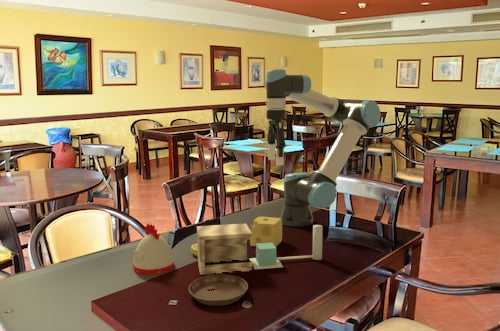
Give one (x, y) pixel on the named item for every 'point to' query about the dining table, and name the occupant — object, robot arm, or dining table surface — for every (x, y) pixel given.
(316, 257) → the block
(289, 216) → the robot arm
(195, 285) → the plant saucer
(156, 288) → the dining table surface
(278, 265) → the mat
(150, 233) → the kitchen timer
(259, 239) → the cheese
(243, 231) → the box
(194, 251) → the decorated donut
